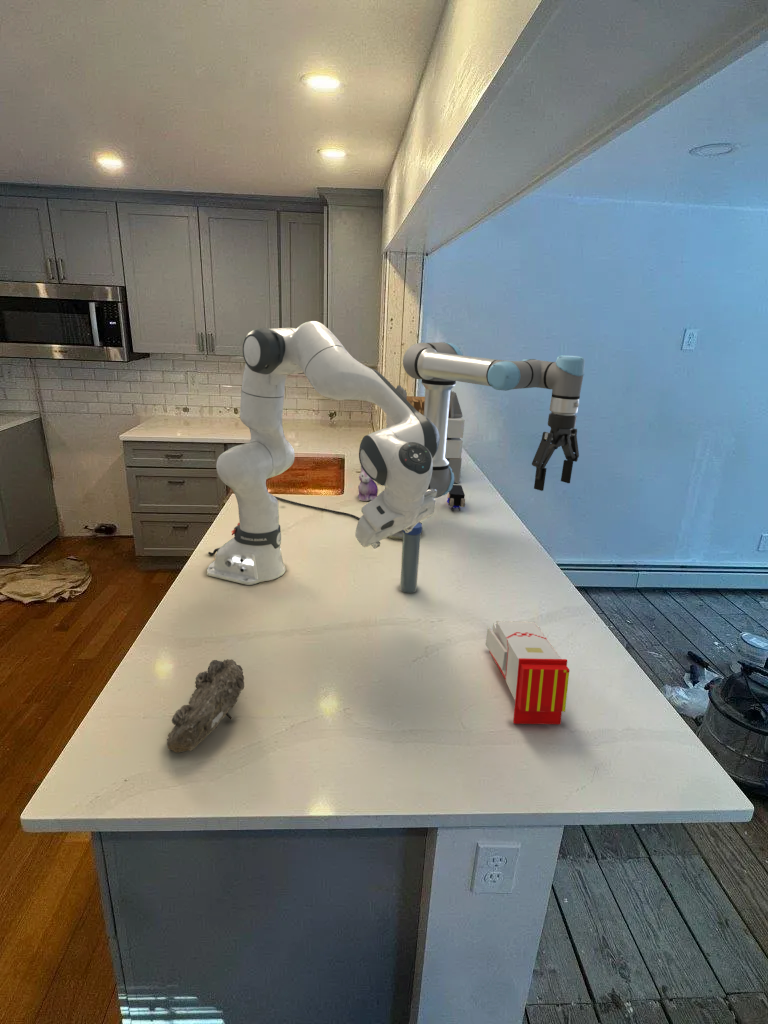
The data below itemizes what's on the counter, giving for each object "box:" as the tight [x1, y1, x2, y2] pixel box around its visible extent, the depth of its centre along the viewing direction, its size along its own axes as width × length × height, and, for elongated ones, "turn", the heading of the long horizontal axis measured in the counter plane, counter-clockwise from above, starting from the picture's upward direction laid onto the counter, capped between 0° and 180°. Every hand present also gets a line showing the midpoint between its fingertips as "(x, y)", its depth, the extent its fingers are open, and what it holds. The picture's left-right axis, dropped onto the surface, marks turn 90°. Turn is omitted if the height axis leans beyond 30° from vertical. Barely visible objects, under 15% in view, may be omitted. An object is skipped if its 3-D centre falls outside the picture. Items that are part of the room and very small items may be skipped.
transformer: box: [385, 384, 465, 484], centre depth 268 cm, size 34×33×41 cm
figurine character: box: [446, 484, 466, 511], centre depth 229 cm, size 7×8×15 cm
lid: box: [402, 522, 423, 535], centre depth 155 cm, size 5×5×2 cm
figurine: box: [357, 466, 379, 502], centre depth 233 cm, size 9×10×15 cm
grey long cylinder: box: [399, 533, 422, 594], centre depth 158 cm, size 5×5×19 cm
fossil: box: [166, 658, 245, 754], centre depth 106 cm, size 22×10×15 cm
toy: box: [485, 620, 570, 725], centre depth 121 cm, size 12×13×30 cm
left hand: (391, 537), depth 136 cm, fingers open, 8 cm apart
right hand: (552, 485), depth 166 cm, fingers open, 13 cm apart
